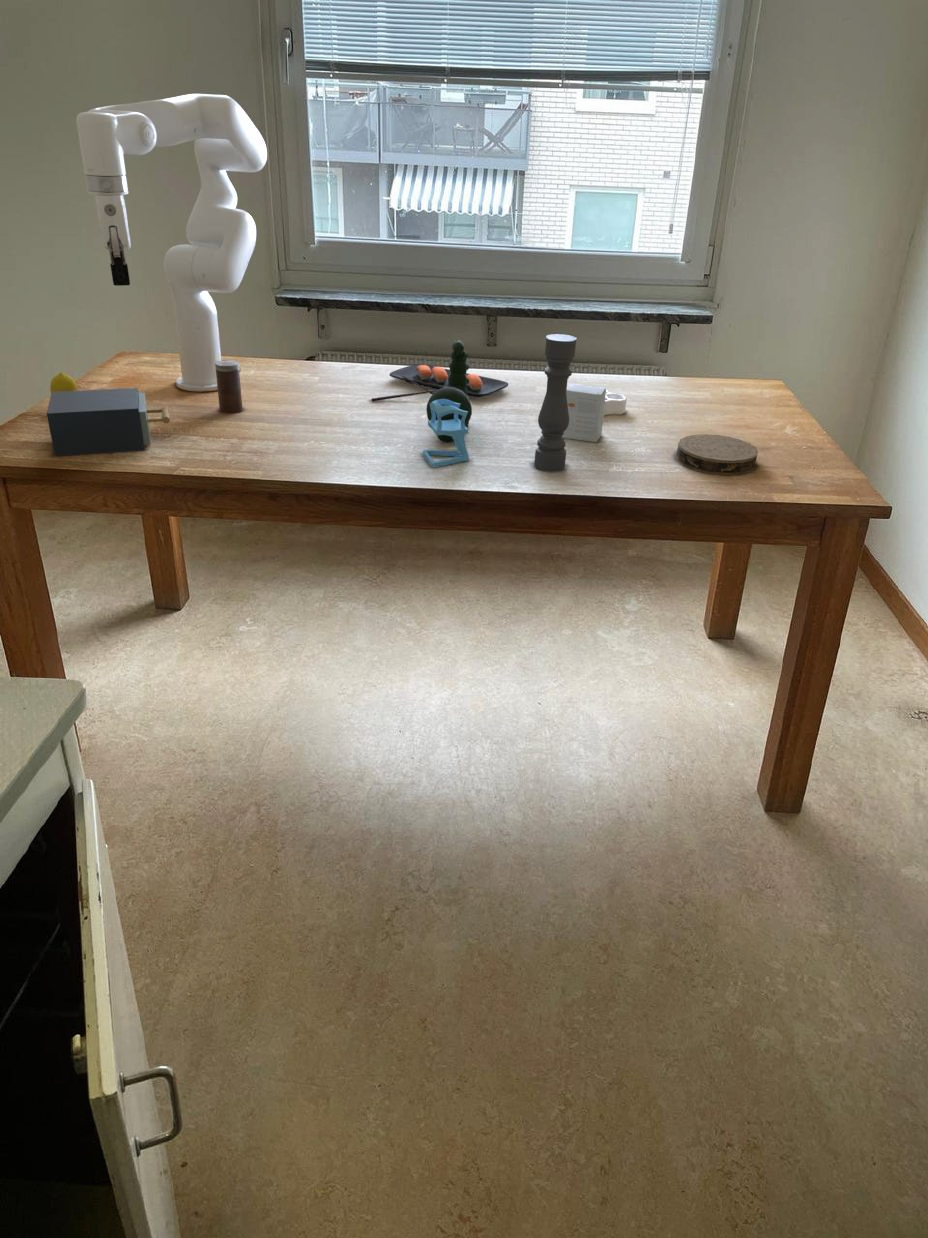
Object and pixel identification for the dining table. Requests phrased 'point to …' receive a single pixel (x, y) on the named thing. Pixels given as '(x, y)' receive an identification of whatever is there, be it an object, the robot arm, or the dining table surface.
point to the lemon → (63, 383)
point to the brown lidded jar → (228, 386)
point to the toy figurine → (454, 388)
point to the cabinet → (95, 421)
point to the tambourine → (716, 454)
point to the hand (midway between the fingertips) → (121, 284)
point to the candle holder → (555, 403)
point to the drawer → (145, 420)
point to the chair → (448, 432)
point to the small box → (585, 412)
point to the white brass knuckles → (614, 403)
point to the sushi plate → (442, 381)
